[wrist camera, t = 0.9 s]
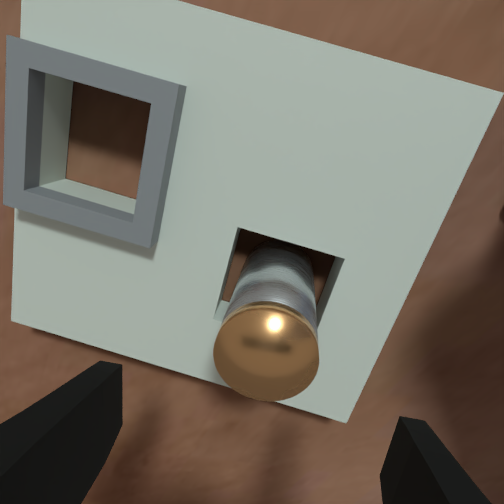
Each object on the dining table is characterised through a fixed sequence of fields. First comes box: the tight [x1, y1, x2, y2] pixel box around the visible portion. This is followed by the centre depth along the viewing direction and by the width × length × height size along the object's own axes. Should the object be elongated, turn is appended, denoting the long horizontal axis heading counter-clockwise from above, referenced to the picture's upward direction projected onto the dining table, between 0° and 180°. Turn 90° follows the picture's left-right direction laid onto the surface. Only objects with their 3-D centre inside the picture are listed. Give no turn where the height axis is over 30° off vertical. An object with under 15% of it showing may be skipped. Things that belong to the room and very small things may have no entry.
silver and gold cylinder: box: [213, 240, 319, 401], centre depth 16 cm, size 4×4×7 cm
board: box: [3, 0, 504, 423], centre depth 17 cm, size 18×16×3 cm
